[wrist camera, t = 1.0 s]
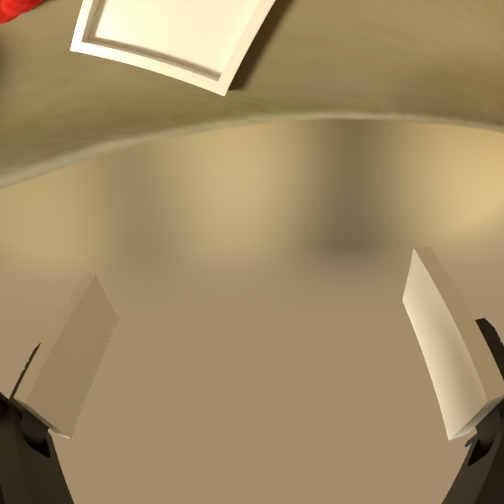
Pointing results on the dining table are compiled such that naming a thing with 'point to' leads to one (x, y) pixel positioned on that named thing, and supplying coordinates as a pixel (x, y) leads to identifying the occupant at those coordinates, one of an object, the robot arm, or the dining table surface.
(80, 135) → the dining table surface
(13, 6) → the tomato
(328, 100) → the dining table surface
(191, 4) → the tray
